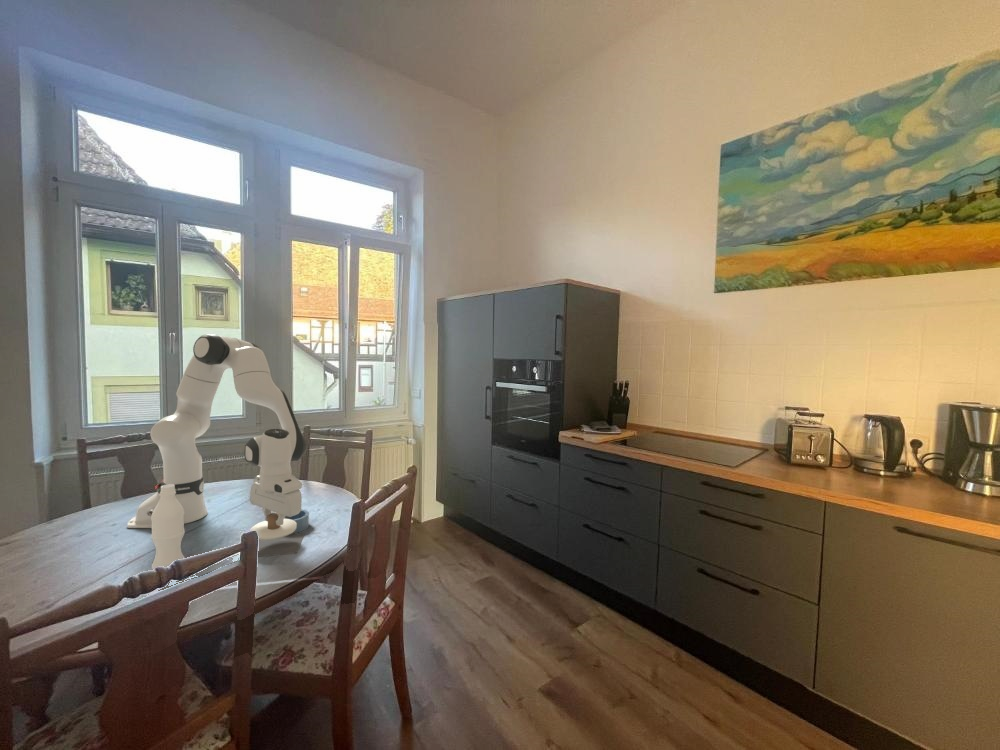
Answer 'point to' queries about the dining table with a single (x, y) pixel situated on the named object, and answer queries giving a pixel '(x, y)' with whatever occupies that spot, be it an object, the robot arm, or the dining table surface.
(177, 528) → the water bottle
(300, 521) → the bowl
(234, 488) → the dining table surface
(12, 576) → the dining table surface
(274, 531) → the lid
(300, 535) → the mat
